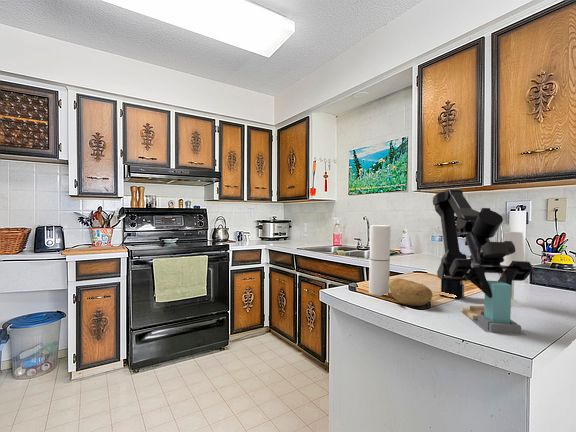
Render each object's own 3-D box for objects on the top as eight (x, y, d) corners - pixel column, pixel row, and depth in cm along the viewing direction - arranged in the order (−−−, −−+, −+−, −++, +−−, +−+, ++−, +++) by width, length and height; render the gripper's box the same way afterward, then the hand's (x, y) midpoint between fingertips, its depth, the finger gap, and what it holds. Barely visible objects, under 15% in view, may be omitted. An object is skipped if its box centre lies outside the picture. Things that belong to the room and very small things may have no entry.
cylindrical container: (365, 292, 112) (366, 225, 111) (375, 289, 117) (376, 224, 116) (382, 297, 107) (384, 226, 106) (392, 293, 112) (394, 225, 111)
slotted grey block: (460, 314, 90) (460, 304, 90) (493, 316, 88) (494, 306, 88) (485, 335, 74) (486, 323, 74) (526, 339, 73) (527, 326, 73)
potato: (420, 314, 89) (421, 287, 89) (382, 302, 101) (382, 278, 101) (439, 309, 94) (440, 283, 94) (401, 297, 106) (401, 275, 106)
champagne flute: (529, 306, 98) (531, 232, 98) (514, 308, 96) (516, 233, 95) (508, 300, 104) (510, 231, 104) (494, 302, 102) (496, 231, 102)
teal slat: (484, 317, 81) (485, 280, 80) (500, 318, 80) (501, 281, 80) (492, 324, 76) (493, 284, 76) (510, 325, 75) (511, 285, 75)
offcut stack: (462, 311, 90) (462, 303, 89) (492, 313, 88) (492, 305, 88) (472, 319, 83) (473, 311, 83) (505, 321, 81) (505, 313, 81)
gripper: (454, 229, 83) (470, 278, 72) (530, 231, 80) (559, 282, 69) (443, 253, 91) (457, 301, 80) (512, 256, 88) (535, 305, 77)
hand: (500, 297), depth 76 cm, fingers closed on teal slat, 4 cm apart
